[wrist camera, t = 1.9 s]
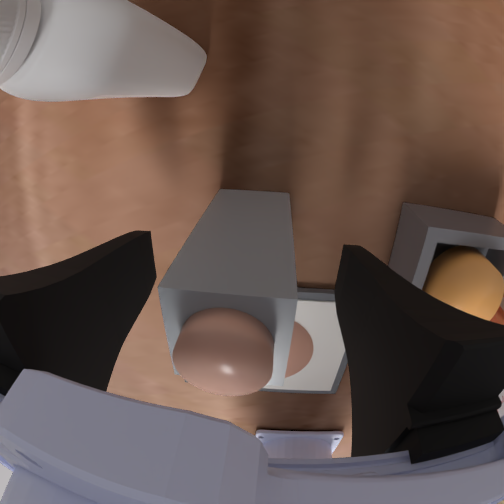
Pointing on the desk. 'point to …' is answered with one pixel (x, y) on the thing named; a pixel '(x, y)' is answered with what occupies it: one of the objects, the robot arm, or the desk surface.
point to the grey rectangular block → (233, 295)
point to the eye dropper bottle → (93, 51)
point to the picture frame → (314, 346)
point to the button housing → (441, 239)
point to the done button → (466, 281)
